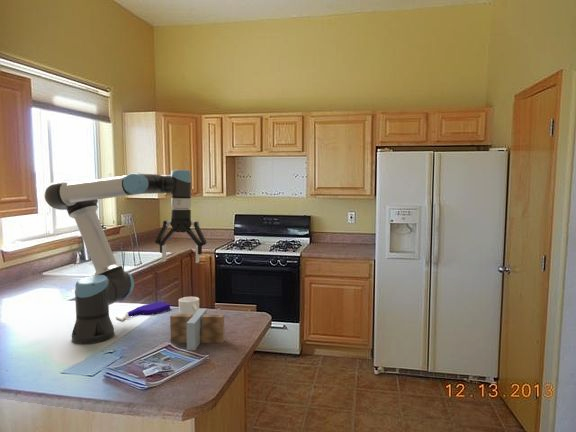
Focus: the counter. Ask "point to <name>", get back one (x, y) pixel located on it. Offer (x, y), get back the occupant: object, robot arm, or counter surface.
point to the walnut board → (208, 333)
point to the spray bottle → (145, 310)
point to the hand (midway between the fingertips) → (180, 261)
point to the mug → (188, 305)
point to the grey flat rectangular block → (194, 329)
